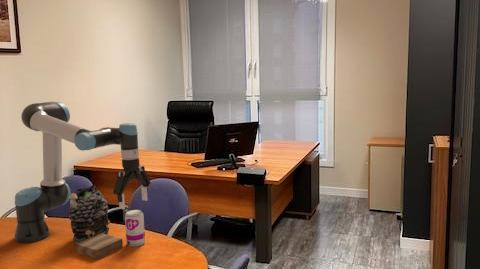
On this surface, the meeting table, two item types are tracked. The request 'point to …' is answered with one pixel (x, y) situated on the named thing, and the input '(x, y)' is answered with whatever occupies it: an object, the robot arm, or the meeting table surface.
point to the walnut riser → (99, 246)
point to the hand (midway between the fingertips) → (133, 204)
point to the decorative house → (88, 214)
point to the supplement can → (134, 228)
